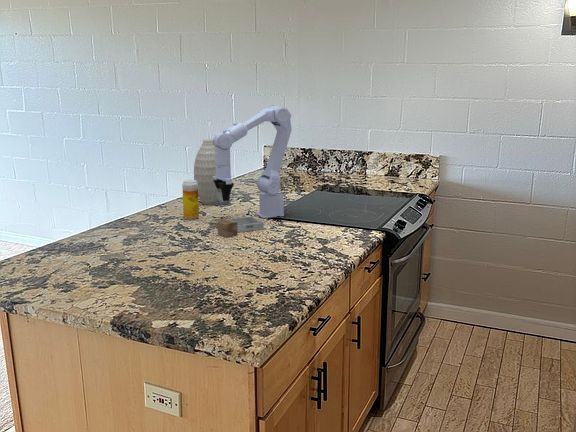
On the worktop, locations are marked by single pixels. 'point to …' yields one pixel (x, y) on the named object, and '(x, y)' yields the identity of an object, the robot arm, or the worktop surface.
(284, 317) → the worktop surface
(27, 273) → the worktop surface
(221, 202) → the grooved metal cylinder
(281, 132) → the robot arm
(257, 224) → the frame
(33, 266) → the worktop surface
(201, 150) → the vase
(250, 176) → the worktop surface
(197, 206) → the beer can
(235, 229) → the walnut block
